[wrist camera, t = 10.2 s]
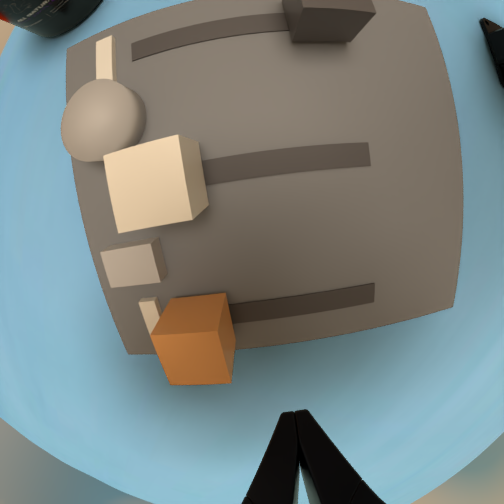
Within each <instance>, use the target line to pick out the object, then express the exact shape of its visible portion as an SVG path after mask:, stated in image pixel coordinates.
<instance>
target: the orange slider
mask: <svg viewBox="0 0 504 504" xmlns="http://www.w3.org/2000/svg"><path fill="white" fill-rule="evenodd" d="M150 337H151V340H152V342H153V345H154V347H155V350H156V352H157V355H158V357H159V360H160V362H161V364H162V367H163V369H164V371H165V374H166V376H167V378H168V381H169V383H170V385H206V384H226V383H232V373H233V363H234V353H235V343H236V338H235V334H234V329H233V325H232V320H231V315H230V311H229V306H228V301H227V297H226V293H218V294H209V295H200V296H191V297H181V298H171V299H170V301H169V303H168V304H167V306H166V308H165V310H164V311H163V313H162V315H161V317H160V318H159V320H158V322H157V324H156V325H155V327H154V329H153V331H152V333H151V334H150Z"/></svg>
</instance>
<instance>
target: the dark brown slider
mask: <svg viewBox="0 0 504 504" xmlns="http://www.w3.org/2000/svg"><path fill="white" fill-rule="evenodd" d="M282 3H283V7H284V11H285V15H286V18H287V22H288V26H289V31H290V35H291V39H292V42H301V41H333V42H351V41H352V40H353V39H354V38H355V37H356V36H357V34H358V33H359V32H360V31H361V30H362V29H363V28H364V27H365V25H366V24H367V23H368V22H369V21H370V20H371V19H372V18H373V17H374V15H375V14H376V10H375V7H374V5H373V2H372V0H282Z"/></svg>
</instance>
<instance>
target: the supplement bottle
mask: <svg viewBox="0 0 504 504" xmlns="http://www.w3.org/2000/svg"><path fill="white" fill-rule="evenodd" d="M100 1H101V0H0V19H1V20H3V21H6V22H8V23H11V24H13V25H16V26H18V27H21V28H23V29H25V30H28V31H30V32H32V33H35V34H37V35H39V36H42V37H52V36H56V35H59V34H62V33H64V32H66V31H68V30H70V29H71V28H73V27H74V26H76V25H77V24H78V23H80V22H81V21H82V20H83V19H84V18H86V17H87V16H88V15H89V14H90V13H91V12H92V11H93V10H94V9H95V7H96V6H97V5H98V4H99V2H100Z"/></svg>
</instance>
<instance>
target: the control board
mask: <svg viewBox="0 0 504 504" xmlns="http://www.w3.org/2000/svg"><path fill="white" fill-rule="evenodd" d="M372 2H373V5H374V7H375V10H376V14H375V15H374V17H373V18H372V19H371V20H370V21H369V22H368V23H367V24H366V25H365V27H364V28H363V29H362V30H361V31H360V32H359V33H358V34H357V36H356V37H355V38H354V39H353V40H352V41H351V42H333V41H301V42H292V39H291V35H290V31H289V26H288V22H287V18H286V15H285V11H284V7H283V3H282V0H194V1H189V2H185V3H181V4H177V5H174V6H170V7H166V8H163V9H160V10H156V11H153V12H150V13H147V14H144V15H141V16H138V17H136V18H133V19H130V20H128V21H125V22H123V23H120V24H118V25H115V26H113V27H111V28H108V29H106V30H104V31H102V32H99V33H97V34H95V35H93V36H91V37H89V38H87V39H85V40H83V41H81V42H79V43H77V44H75V45H73V46H72V47H70V48H68V49H67V58H66V102H67V106H66V108H65V110H64V113H63V117H62V122H61V136H62V141H63V144H64V146H65V148H66V150H67V151H68V153H69V154H70V155H71V159H72V166H73V173H74V179H75V185H76V190H77V196H78V201H79V206H80V210H81V215H82V219H83V224H84V228H85V232H86V236H87V240H88V243H89V247H90V251H91V254H92V258H93V261H94V265H95V268H96V271H97V274H98V277H99V280H100V284H101V286H102V289H103V292H104V295H105V298H106V301H107V304H108V306H109V309H110V312H111V314H112V317H113V319H114V322H115V325H116V327H117V329H118V332H119V334H120V337H121V339H122V341H123V344H124V346H125V348H126V351H127V353H128V354H157V352H156V350H155V347H154V345H153V342H152V340H151V337H150V334H151V333H152V331H153V329H154V327H155V325H156V324H157V322H158V320H159V318H160V317H161V315H162V313H163V311H164V310H165V308H166V306H167V304H168V303H169V301H170V299H171V298H181V297H191V296H200V295H209V294H218V293H226V297H227V301H228V306H229V311H230V315H231V320H232V325H233V329H234V334H235V338H236V343H235V350H238V349H248V348H257V347H266V346H274V345H282V344H289V343H296V342H302V341H309V340H315V339H321V338H327V337H332V336H338V335H343V334H348V333H353V332H358V331H363V330H367V329H372V328H376V327H381V326H385V325H389V324H393V323H397V322H401V321H405V320H409V319H413V318H417V317H420V316H424V315H428V314H431V313H434V312H438V311H441V310H445V309H448V308H451V307H453V303H454V298H455V292H456V286H457V279H458V272H459V264H460V255H461V244H462V229H463V172H462V157H461V146H460V137H459V129H458V122H457V116H456V110H455V104H454V99H453V94H452V89H451V85H450V81H449V77H448V73H447V69H446V65H445V62H444V58H443V55H442V51H441V48H440V45H439V42H438V39H437V36H436V33H435V30H434V28H433V25H432V22H431V20H430V17H429V15H428V12H427V10H426V8H425V7H422V6H419V5H415V4H411V3H407V2H403V1H399V0H372ZM173 135H181V136H184V137H187V138H189V139H192V140H195V141H198V142H199V149H200V155H201V161H202V167H203V173H204V179H205V185H206V191H207V197H208V203H209V205H208V206H207V207H206V208H205V209H204V210H203V211H202V212H201V213H200V214H198V215H197V216H196V217H195V218H194V219H193V220H189V221H183V222H177V223H171V224H166V225H160V226H155V227H149V228H144V229H139V230H133V231H128V232H123V233H118V230H117V226H116V222H115V217H114V213H113V208H112V203H111V198H110V193H109V188H108V182H107V177H106V171H105V164H104V158H103V156H104V155H107V154H110V153H113V152H116V151H119V150H122V149H126V148H129V147H132V146H136V145H139V144H143V143H146V142H150V141H154V140H157V139H161V138H165V137H169V136H173Z"/></svg>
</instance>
